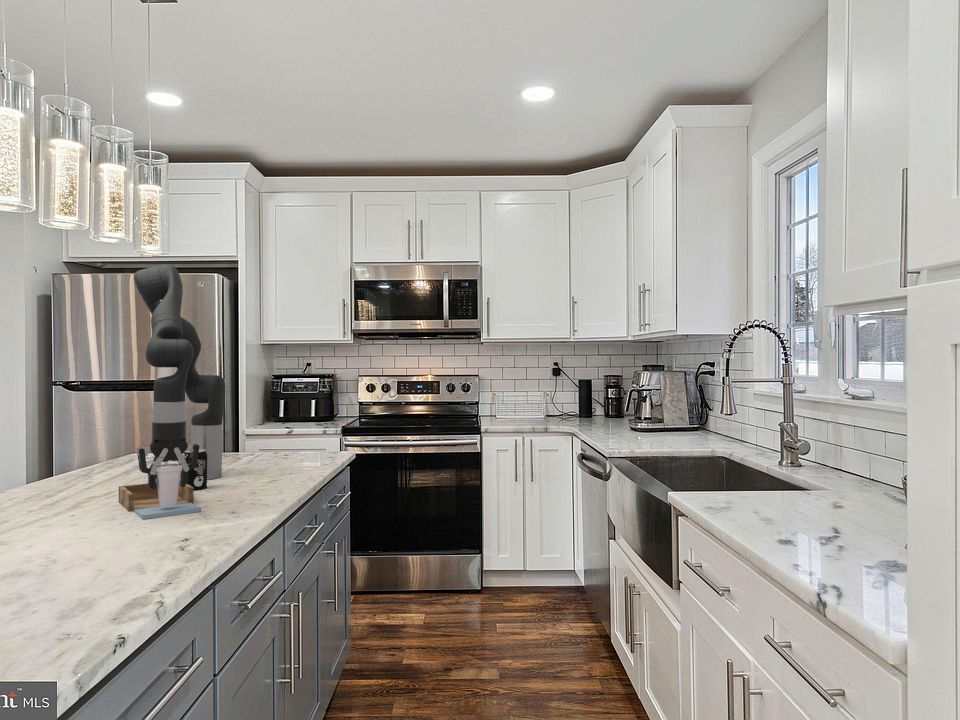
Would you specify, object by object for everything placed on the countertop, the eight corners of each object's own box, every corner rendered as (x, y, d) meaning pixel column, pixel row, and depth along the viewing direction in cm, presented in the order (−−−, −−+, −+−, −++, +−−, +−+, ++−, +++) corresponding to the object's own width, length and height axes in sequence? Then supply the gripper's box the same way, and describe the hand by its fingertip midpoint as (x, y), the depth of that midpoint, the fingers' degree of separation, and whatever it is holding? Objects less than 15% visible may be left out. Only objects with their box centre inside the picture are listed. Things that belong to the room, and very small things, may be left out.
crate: (118, 505, 163) (118, 486, 163) (180, 497, 173) (180, 479, 173) (128, 515, 153) (128, 494, 153) (193, 506, 163) (193, 487, 163)
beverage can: (211, 489, 184) (211, 449, 184) (199, 494, 178) (199, 452, 178) (190, 488, 185) (190, 448, 185) (177, 493, 178) (177, 451, 178)
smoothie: (147, 505, 152) (148, 448, 152) (171, 500, 158) (171, 445, 158) (164, 508, 149) (165, 450, 149) (188, 503, 155) (188, 447, 155)
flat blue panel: (133, 509, 154) (142, 514, 146) (189, 501, 162) (201, 507, 154) (133, 514, 154) (142, 520, 146) (189, 507, 162) (201, 512, 154)
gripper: (139, 422, 146) (139, 494, 146) (204, 419, 155) (203, 487, 155) (133, 420, 152) (132, 489, 152) (195, 417, 161) (194, 482, 161)
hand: (168, 487), depth 154 cm, fingers closed on smoothie, 6 cm apart
